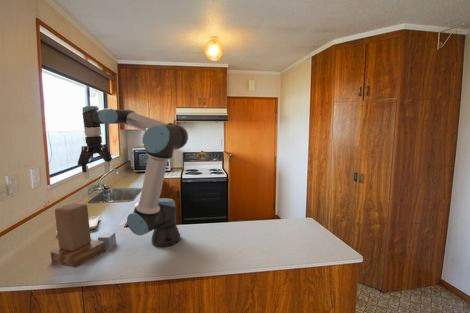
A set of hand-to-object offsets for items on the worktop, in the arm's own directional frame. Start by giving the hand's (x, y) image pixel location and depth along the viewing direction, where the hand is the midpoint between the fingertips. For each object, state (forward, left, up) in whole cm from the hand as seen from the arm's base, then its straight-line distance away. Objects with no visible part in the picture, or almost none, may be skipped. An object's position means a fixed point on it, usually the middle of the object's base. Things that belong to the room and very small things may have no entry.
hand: (97, 175), depth 136 cm
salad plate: (+31, -10, -37) cm, 49 cm away
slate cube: (-7, +4, -37) cm, 38 cm away
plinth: (-3, +17, -37) cm, 40 cm away
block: (-1, +17, -32) cm, 36 cm away
